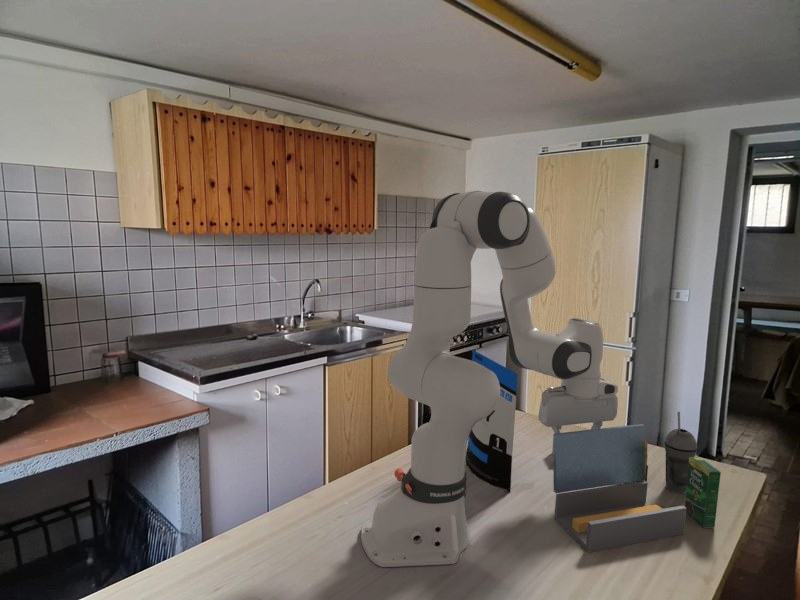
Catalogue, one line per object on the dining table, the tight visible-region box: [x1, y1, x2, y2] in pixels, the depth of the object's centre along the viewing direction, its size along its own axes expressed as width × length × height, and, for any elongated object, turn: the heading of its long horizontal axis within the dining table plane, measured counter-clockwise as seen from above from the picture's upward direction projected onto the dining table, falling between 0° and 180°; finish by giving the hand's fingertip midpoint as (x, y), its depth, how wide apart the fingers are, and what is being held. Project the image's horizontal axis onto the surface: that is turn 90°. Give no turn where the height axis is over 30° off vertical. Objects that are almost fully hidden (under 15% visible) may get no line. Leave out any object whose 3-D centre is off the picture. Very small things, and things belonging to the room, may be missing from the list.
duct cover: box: [552, 423, 646, 494], centre depth 116 cm, size 24×13×1 cm
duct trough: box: [553, 481, 687, 553], centre depth 111 cm, size 24×12×6 cm, turn 107°
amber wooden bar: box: [572, 504, 663, 532], centre depth 111 cm, size 22×2×2 cm, turn 107°
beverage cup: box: [663, 411, 698, 494], centre depth 127 cm, size 7×7×20 cm
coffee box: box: [684, 456, 721, 529], centre depth 114 cm, size 8×3×13 cm, turn 179°
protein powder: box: [465, 349, 518, 493], centre depth 134 cm, size 10×24×30 cm, turn 18°
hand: (575, 439), depth 125 cm, fingers open, 8 cm apart
